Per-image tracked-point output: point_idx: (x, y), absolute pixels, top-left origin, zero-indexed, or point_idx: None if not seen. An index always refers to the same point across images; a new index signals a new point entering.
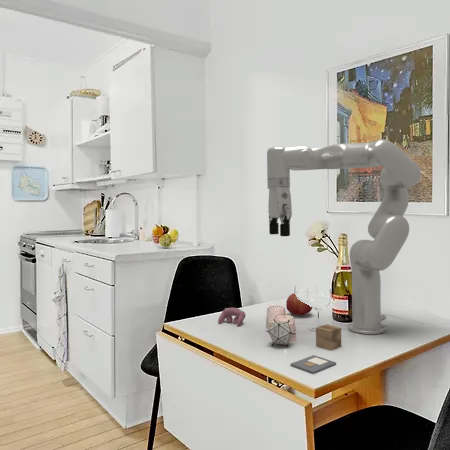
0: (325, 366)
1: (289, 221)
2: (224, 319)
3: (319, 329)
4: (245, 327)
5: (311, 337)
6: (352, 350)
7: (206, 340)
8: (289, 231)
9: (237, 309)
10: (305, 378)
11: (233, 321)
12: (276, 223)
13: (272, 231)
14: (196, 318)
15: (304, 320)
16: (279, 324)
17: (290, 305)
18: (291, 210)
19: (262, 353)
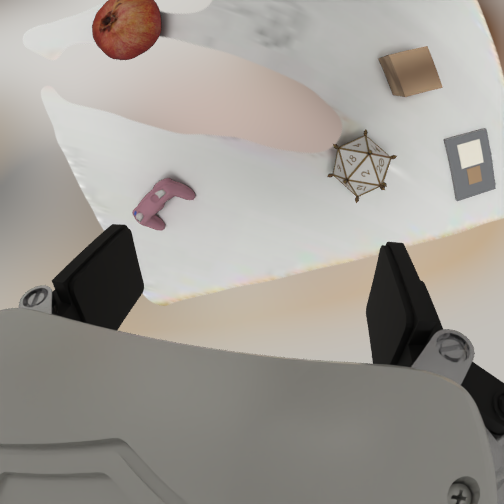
0: (491, 157)
1: (470, 360)
2: (155, 215)
3: (414, 94)
4: (204, 181)
5: (333, 69)
6: (439, 48)
7: (269, 277)
8: (411, 266)
9: (153, 199)
10: (497, 205)
11: (168, 199)
12: (79, 300)
13: (131, 288)
14: None
15: (188, 28)
16: (382, 185)
17: (136, 52)
18: (496, 487)
19: (385, 214)
